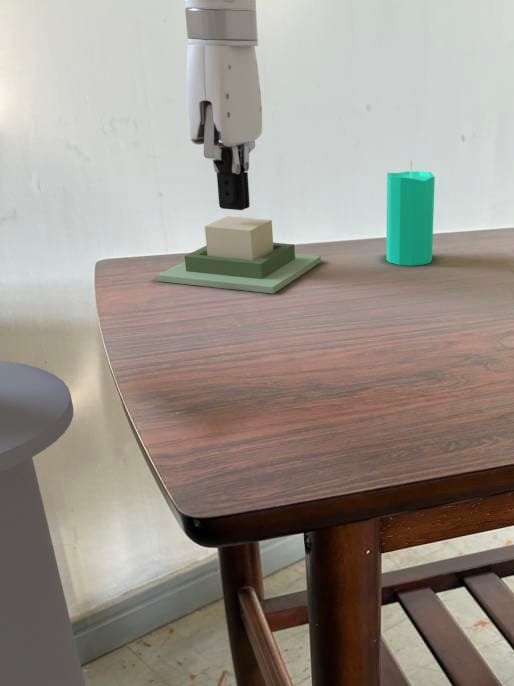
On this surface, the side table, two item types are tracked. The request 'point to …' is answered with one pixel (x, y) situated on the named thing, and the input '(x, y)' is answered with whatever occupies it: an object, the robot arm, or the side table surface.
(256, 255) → the beige cube block
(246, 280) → the base pad
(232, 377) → the side table surface
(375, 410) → the side table surface
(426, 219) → the candle
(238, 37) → the robot arm
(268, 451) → the side table surface
